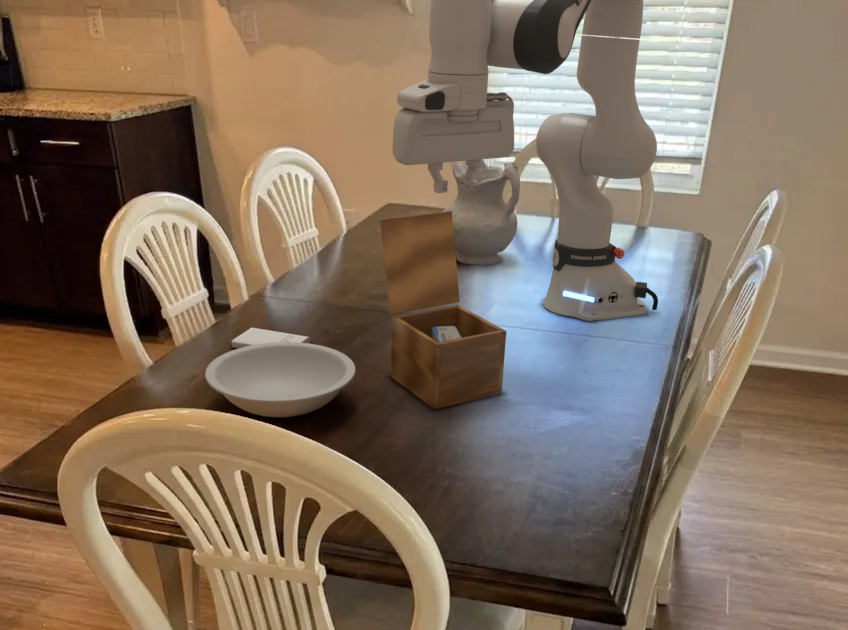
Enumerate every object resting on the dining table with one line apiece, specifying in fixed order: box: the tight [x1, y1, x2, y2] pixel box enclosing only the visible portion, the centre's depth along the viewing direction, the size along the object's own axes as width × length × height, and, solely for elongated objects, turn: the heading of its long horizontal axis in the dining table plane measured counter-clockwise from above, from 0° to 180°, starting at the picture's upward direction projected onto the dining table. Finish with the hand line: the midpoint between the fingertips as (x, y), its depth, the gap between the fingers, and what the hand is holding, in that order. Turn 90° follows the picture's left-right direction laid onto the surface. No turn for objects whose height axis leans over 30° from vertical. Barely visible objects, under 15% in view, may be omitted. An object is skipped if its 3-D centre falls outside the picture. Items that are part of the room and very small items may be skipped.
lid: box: [379, 211, 461, 315], centre depth 146 cm, size 16×14×1 cm
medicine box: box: [431, 326, 461, 342], centre depth 147 cm, size 8×4×9 cm, turn 9°
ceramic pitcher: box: [442, 159, 521, 266], centre depth 212 cm, size 22×20×25 cm
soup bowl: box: [204, 342, 356, 418], centre depth 139 cm, size 24×24×7 cm
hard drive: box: [231, 327, 311, 349], centre depth 163 cm, size 2×8×12 cm
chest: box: [390, 304, 507, 410], centre depth 147 cm, size 15×14×11 cm
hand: (453, 191), depth 133 cm, fingers open, 3 cm apart
